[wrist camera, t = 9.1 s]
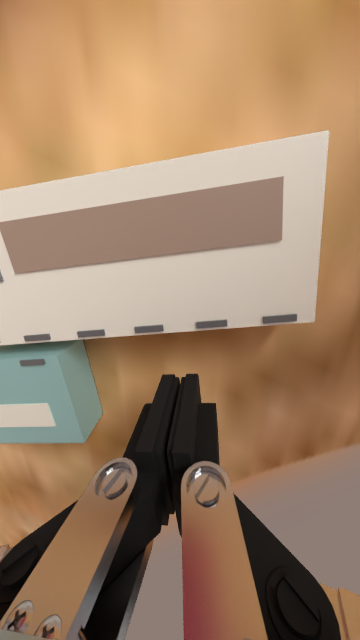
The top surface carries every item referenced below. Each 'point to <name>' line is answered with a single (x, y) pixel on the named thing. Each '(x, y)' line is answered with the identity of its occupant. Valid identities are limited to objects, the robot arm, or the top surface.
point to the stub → (47, 393)
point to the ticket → (166, 245)
